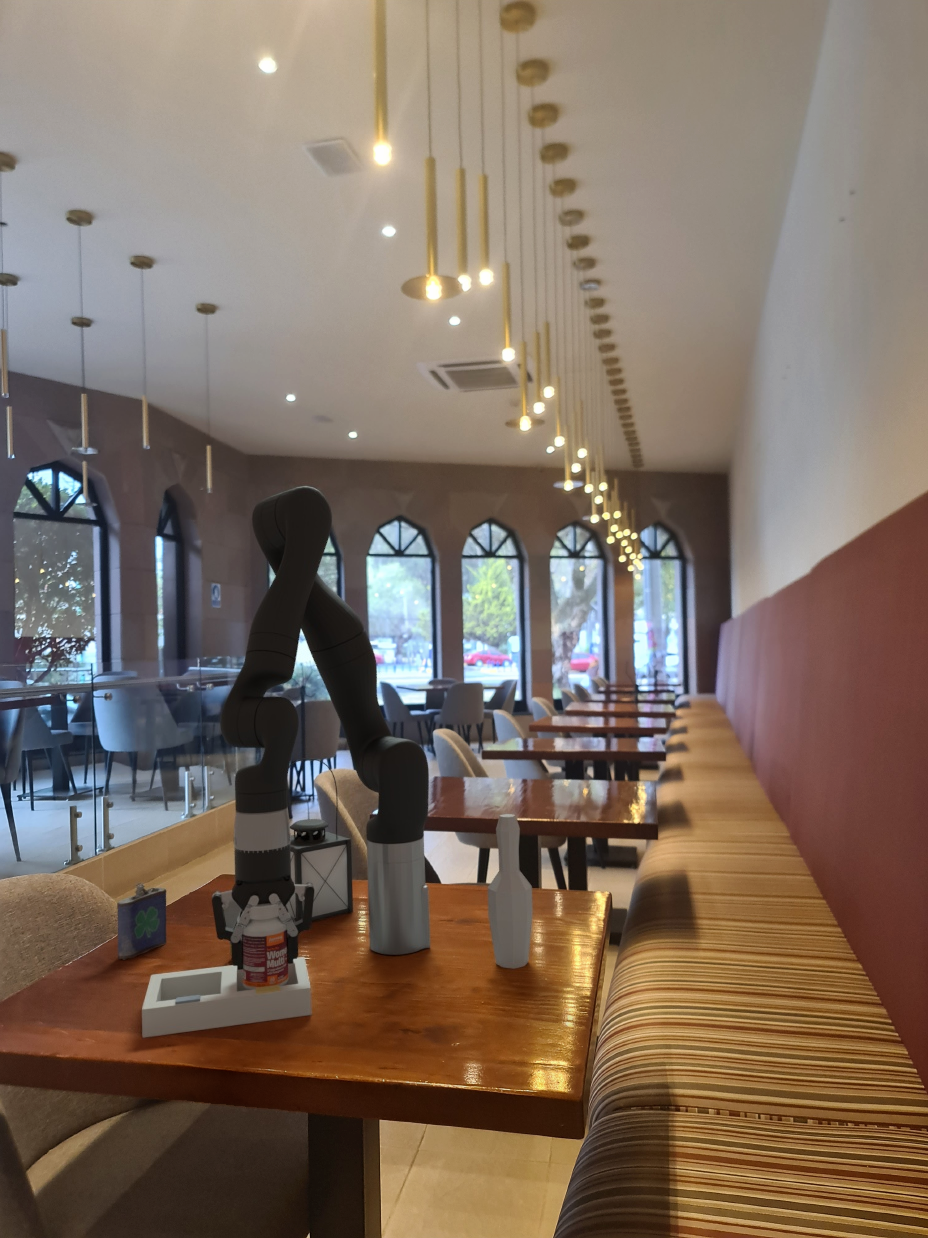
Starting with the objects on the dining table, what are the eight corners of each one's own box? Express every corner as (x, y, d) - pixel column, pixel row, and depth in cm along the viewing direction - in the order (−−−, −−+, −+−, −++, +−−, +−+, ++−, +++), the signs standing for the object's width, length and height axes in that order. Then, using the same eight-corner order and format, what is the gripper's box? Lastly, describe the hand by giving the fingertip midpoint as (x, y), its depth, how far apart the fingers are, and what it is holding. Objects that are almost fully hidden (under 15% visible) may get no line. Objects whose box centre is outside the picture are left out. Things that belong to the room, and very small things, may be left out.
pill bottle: (274, 995, 116) (272, 909, 116) (233, 991, 118) (232, 906, 118) (296, 978, 121) (295, 896, 122) (258, 974, 123) (256, 893, 124)
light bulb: (246, 965, 134) (244, 899, 134) (213, 963, 135) (211, 898, 135) (261, 952, 139) (259, 889, 139) (229, 951, 140) (228, 888, 140)
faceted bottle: (541, 961, 131) (537, 814, 132) (514, 974, 127) (510, 821, 127) (509, 952, 136) (505, 809, 136) (482, 964, 131) (477, 816, 132)
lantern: (353, 912, 158) (350, 757, 159) (297, 926, 151) (294, 764, 152) (323, 899, 167) (320, 752, 168) (269, 912, 160) (266, 758, 161)
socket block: (305, 981, 126) (304, 954, 127) (311, 1015, 115) (310, 985, 115) (151, 1000, 121) (151, 972, 121) (142, 1038, 110) (141, 1007, 110)
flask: (125, 961, 137) (123, 892, 137) (112, 958, 138) (110, 890, 139) (170, 942, 145) (169, 877, 145) (158, 940, 146) (156, 876, 147)
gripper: (313, 832, 125) (316, 950, 125) (209, 840, 122) (211, 961, 121) (317, 843, 118) (320, 968, 118) (206, 853, 115) (209, 981, 114)
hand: (265, 964), depth 120 cm, fingers closed on pill bottle, 6 cm apart
